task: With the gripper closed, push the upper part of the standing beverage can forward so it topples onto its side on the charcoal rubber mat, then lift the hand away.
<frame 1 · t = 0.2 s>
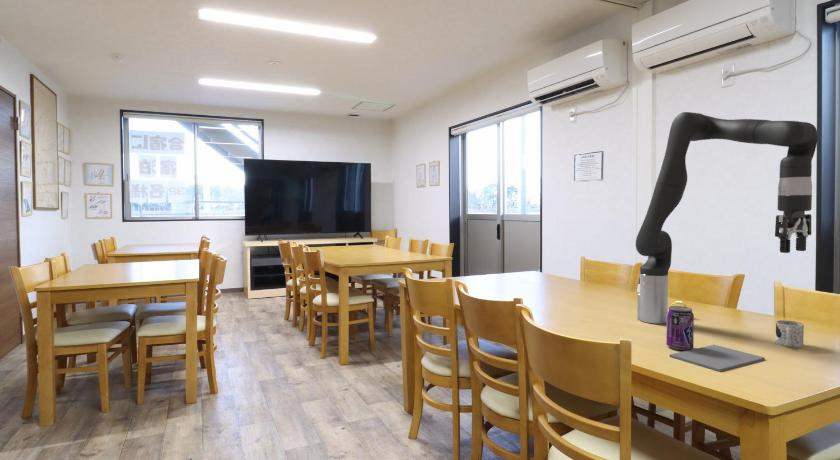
hand: (792, 251, 135), 29 cm above the table, fingers open, 8 cm apart
mug: (788, 346, 144), on the table
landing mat: (716, 358, 133), on the table
beverage can: (679, 348, 143), on the table
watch: (678, 317, 182), on the table
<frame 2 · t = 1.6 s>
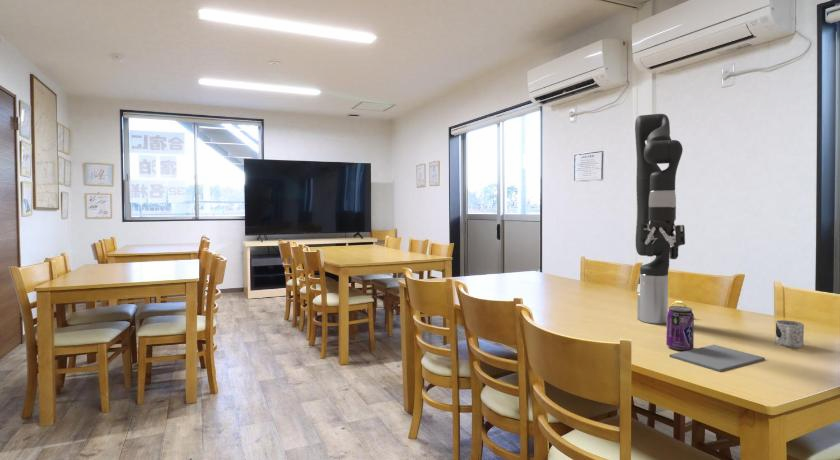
hand: (661, 257, 150), 26 cm above the table, fingers open, 8 cm apart
nothing on the table moved.
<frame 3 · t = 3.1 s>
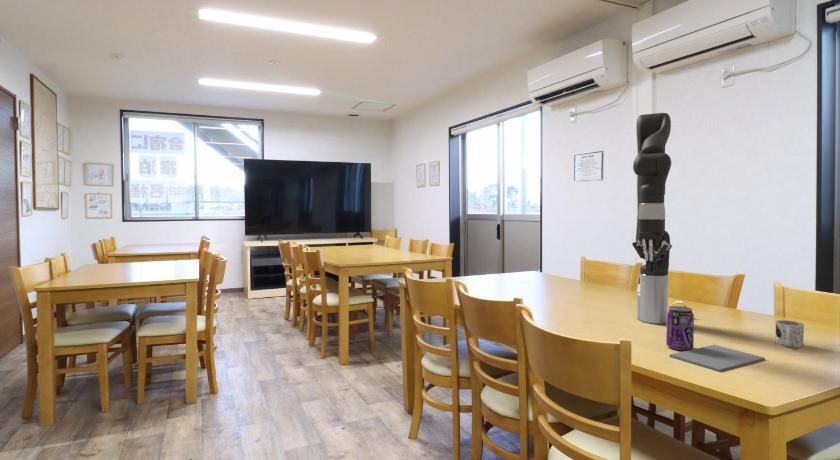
hand: (651, 272, 151), 21 cm above the table, fingers closed
nothing on the table moved.
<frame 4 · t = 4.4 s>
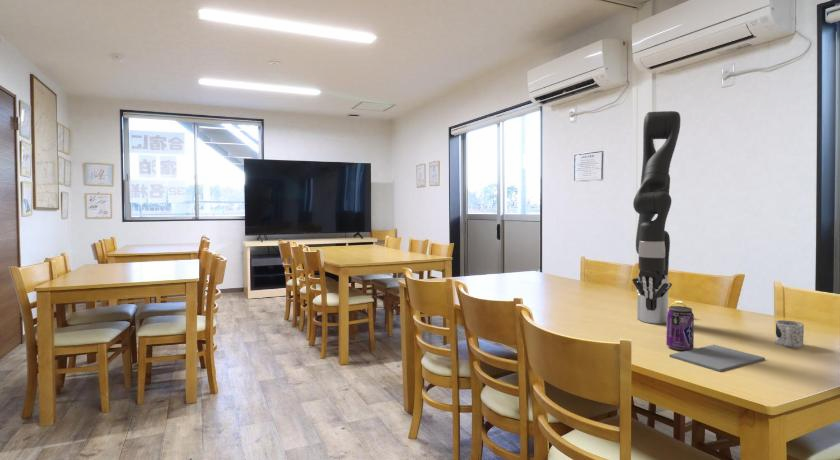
hand: (651, 310, 152), 10 cm above the table, fingers closed
nothing on the table moved.
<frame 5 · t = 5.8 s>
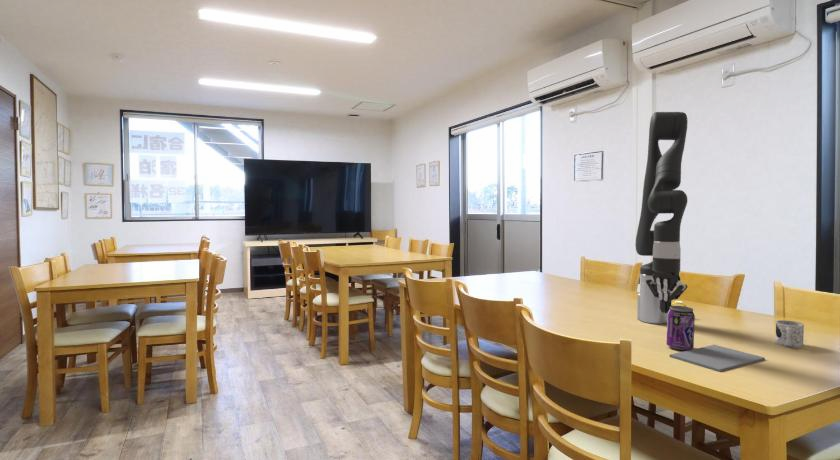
hand: (665, 312, 147), 10 cm above the table, fingers closed
beverage can: (679, 348, 143), on the table, touching gripper
everything else where it was.
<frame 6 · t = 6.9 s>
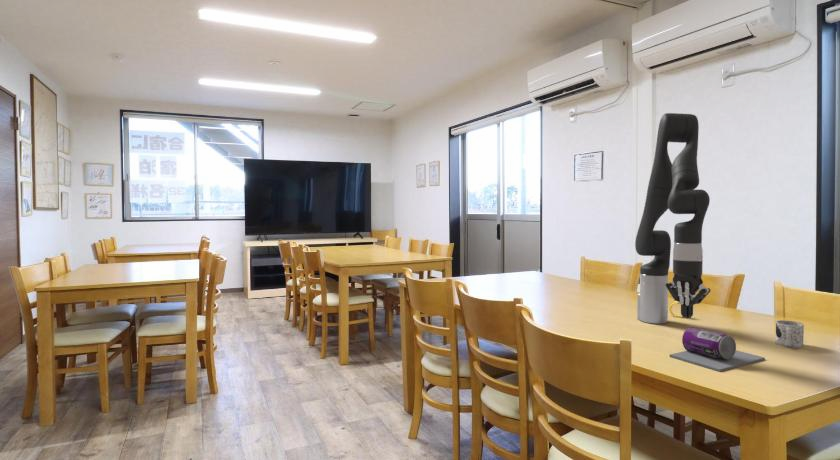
hand: (686, 317, 141), 10 cm above the table, fingers closed
beverage can: (688, 338, 140), point 4 cm above the table, touching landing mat
everything else where it was.
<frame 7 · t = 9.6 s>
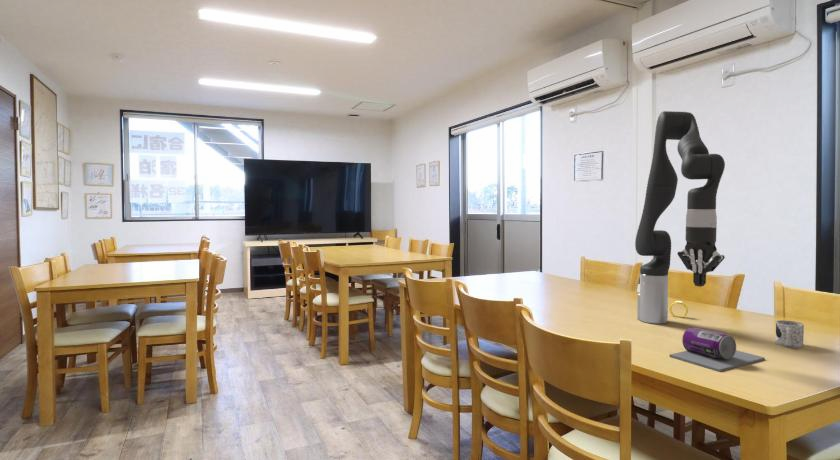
hand: (699, 285, 137), 19 cm above the table, fingers closed
nothing on the table moved.
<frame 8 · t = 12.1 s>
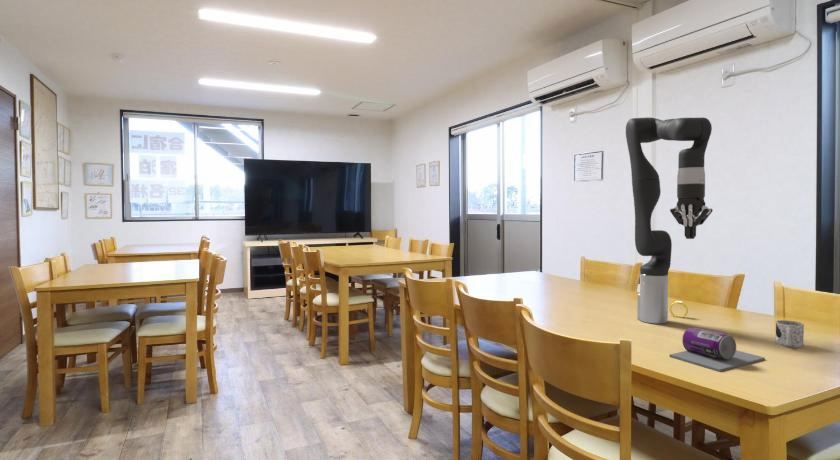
hand: (690, 238, 150), 32 cm above the table, fingers closed
nothing on the table moved.
at the end: beverage can tilted 87°; beverage can inside the target area (7.0 cm from its centre), point 3.5 cm above the table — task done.
